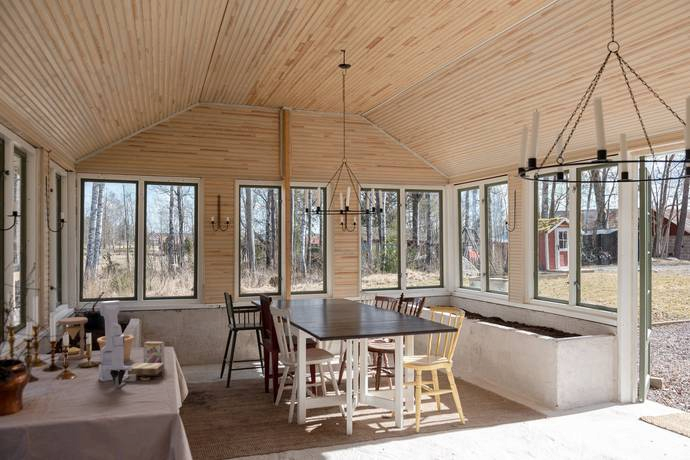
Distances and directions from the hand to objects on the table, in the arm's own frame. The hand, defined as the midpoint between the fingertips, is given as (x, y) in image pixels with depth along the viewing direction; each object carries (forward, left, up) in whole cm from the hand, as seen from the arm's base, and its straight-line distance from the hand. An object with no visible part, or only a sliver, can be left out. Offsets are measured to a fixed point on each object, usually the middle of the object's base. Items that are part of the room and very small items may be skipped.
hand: (118, 384), depth 296 cm
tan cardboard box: (+18, +9, -2) cm, 20 cm away
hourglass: (-3, +92, -2) cm, 92 cm away
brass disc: (+17, +8, -2) cm, 19 cm away
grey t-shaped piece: (+4, +5, -2) cm, 6 cm away
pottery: (+17, +65, -2) cm, 67 cm away
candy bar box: (+28, +25, -2) cm, 38 cm away
